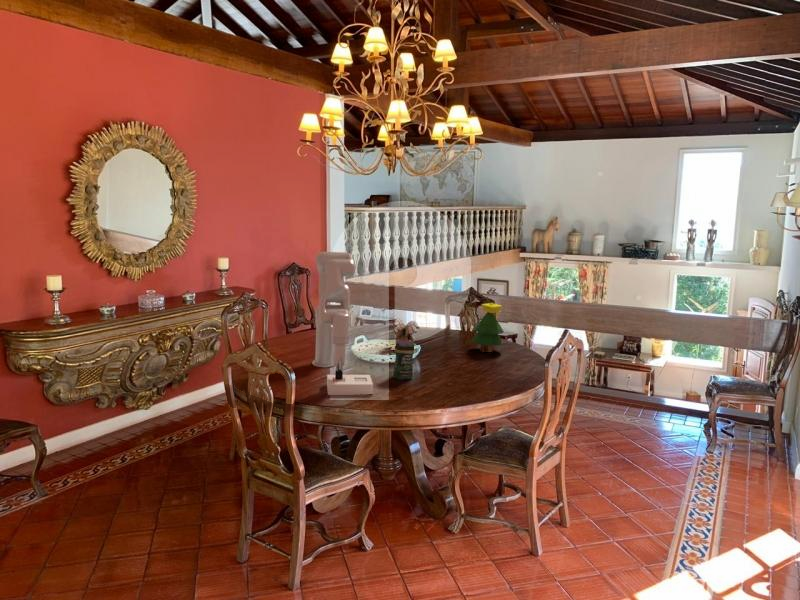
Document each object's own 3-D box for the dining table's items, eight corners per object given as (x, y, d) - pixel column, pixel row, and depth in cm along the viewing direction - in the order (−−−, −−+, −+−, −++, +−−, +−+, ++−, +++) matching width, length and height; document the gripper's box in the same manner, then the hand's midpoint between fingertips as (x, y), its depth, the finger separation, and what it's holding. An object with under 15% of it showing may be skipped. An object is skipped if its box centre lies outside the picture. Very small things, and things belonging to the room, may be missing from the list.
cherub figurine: (421, 346, 358) (423, 317, 355) (419, 354, 341) (421, 323, 337) (392, 343, 360) (393, 315, 357) (388, 351, 342) (390, 321, 339)
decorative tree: (463, 349, 356) (467, 300, 351) (486, 345, 368) (490, 298, 362) (486, 357, 341) (490, 306, 336) (509, 353, 353) (514, 304, 347)
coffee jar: (395, 380, 290) (397, 343, 287) (391, 375, 298) (393, 339, 294) (414, 380, 293) (416, 343, 290) (409, 375, 301) (412, 339, 297)
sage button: (354, 385, 276) (354, 378, 275) (365, 385, 277) (365, 378, 276) (355, 389, 271) (355, 382, 270) (366, 389, 272) (366, 382, 271)
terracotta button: (332, 384, 274) (333, 377, 274) (343, 384, 275) (343, 377, 274) (333, 387, 269) (333, 380, 269) (344, 387, 270) (344, 380, 270)
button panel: (326, 384, 278) (327, 374, 278) (369, 384, 282) (369, 374, 281) (328, 395, 265) (328, 384, 264) (372, 395, 268) (373, 384, 267)
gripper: (331, 335, 275) (329, 373, 278) (332, 344, 260) (331, 384, 264) (347, 336, 276) (345, 374, 279) (350, 344, 262) (348, 384, 265)
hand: (338, 378), depth 271 cm, fingers closed
